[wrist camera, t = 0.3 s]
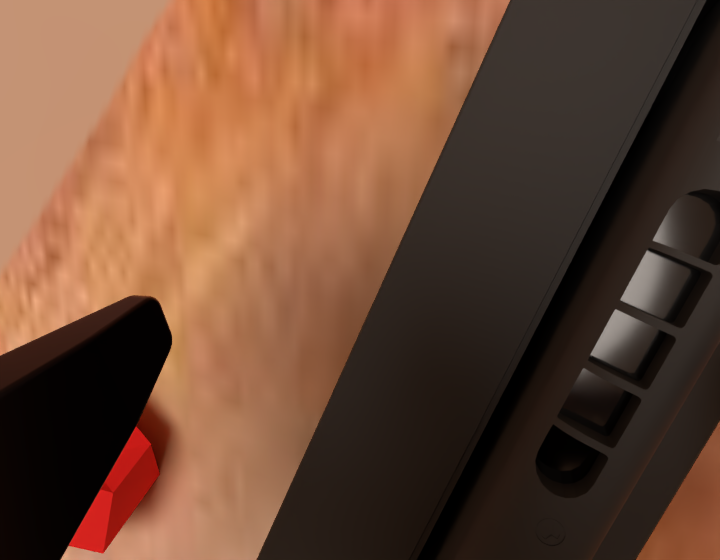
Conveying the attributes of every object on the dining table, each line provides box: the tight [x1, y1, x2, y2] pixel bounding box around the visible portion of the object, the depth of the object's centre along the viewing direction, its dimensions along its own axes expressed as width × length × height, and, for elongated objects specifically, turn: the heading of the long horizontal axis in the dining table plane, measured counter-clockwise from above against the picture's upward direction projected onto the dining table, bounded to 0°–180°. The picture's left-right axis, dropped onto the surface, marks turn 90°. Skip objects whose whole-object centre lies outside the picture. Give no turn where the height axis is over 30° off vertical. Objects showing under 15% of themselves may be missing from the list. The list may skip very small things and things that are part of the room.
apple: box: [69, 427, 160, 553], centre depth 25 cm, size 7×7×8 cm
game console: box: [257, 0, 720, 560], centre depth 15 cm, size 28×6×15 cm, turn 155°
